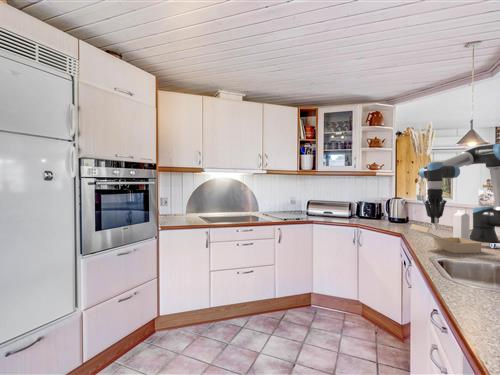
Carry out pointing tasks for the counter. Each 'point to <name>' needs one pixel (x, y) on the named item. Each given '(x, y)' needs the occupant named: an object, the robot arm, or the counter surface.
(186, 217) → the counter surface
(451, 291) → the counter surface
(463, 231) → the milk
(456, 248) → the base
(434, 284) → the counter surface
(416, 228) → the lid
